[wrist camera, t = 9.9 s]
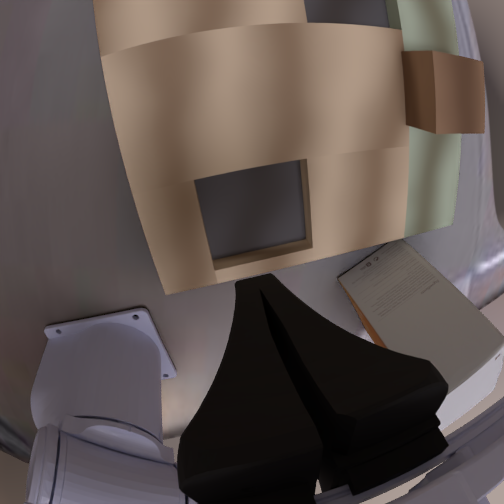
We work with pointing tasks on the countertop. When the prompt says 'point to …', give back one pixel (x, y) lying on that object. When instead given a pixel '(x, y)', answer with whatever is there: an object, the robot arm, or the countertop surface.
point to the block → (443, 92)
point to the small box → (427, 323)
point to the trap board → (273, 129)
